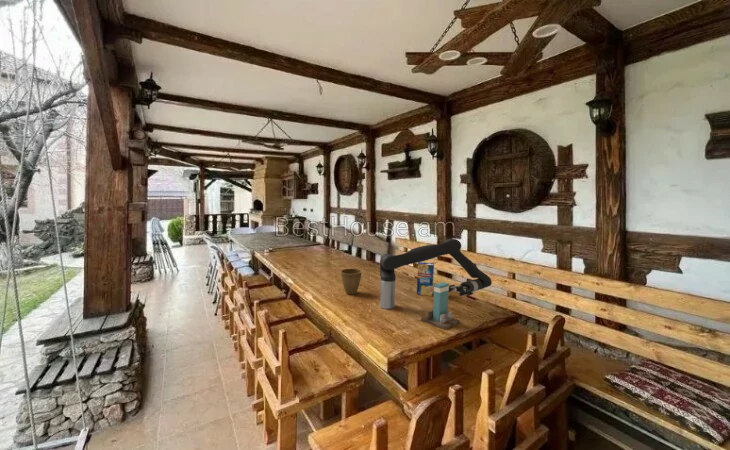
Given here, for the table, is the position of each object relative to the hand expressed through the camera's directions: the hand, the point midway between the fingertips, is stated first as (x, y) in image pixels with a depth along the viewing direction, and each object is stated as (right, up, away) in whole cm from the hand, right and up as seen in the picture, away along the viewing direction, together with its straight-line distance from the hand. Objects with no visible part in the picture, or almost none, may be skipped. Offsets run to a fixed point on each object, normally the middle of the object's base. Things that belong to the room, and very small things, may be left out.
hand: (453, 292), depth 181 cm
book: (-9, -14, -6) cm, 17 cm away
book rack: (-9, -15, -6) cm, 19 cm away
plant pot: (-61, -10, +43) cm, 75 cm away
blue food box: (-8, -10, +43) cm, 45 cm away
